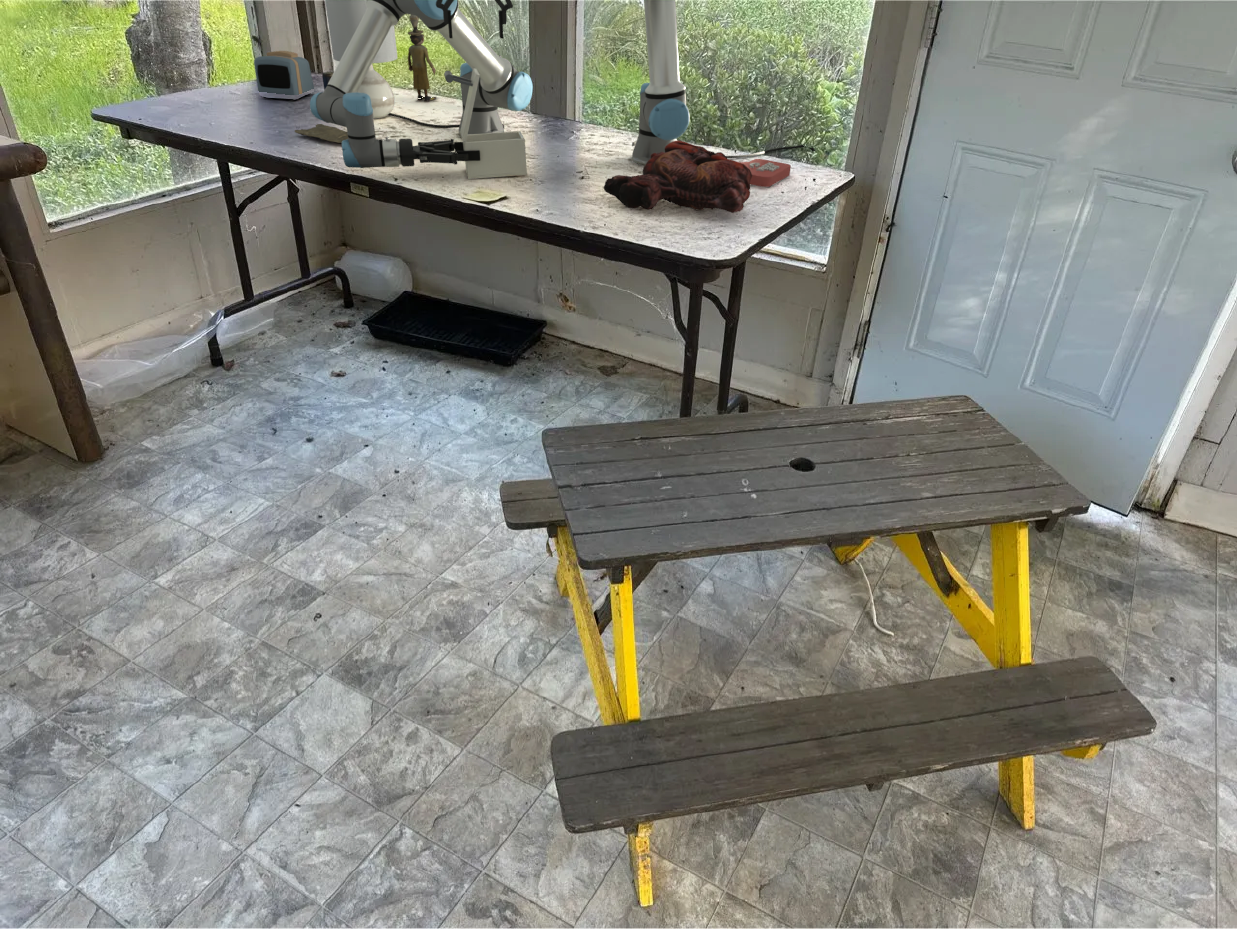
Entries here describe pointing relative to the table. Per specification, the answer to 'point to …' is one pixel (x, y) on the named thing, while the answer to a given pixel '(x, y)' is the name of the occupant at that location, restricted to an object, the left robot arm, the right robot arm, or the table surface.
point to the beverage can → (326, 78)
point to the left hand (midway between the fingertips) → (478, 150)
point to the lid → (470, 98)
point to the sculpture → (685, 180)
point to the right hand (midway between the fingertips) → (476, 37)
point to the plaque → (767, 172)
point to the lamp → (343, 20)
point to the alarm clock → (283, 73)
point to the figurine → (419, 60)
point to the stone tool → (325, 133)
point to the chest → (496, 155)
